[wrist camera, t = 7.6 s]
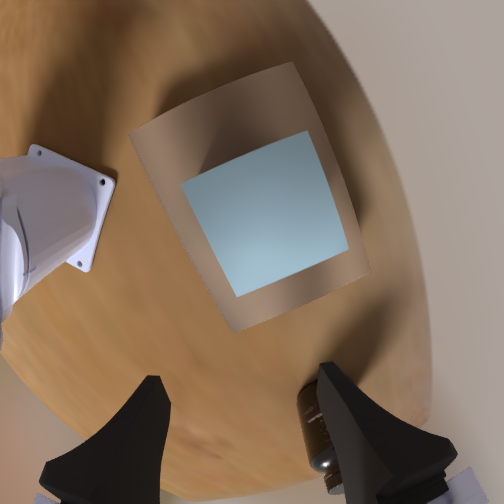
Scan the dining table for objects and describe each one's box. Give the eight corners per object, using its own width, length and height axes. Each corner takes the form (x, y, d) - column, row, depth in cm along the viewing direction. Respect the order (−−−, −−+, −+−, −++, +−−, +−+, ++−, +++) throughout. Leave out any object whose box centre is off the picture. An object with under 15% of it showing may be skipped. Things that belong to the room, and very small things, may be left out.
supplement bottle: (310, 371, 25) (344, 474, 13) (364, 374, 26) (408, 460, 14) (285, 411, 27) (304, 503, 15) (336, 413, 28) (365, 492, 16)
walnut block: (232, 303, 21) (233, 333, 18) (148, 138, 17) (127, 134, 13) (348, 252, 21) (371, 272, 17) (280, 79, 16) (292, 61, 12)
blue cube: (235, 255, 16) (237, 297, 11) (197, 175, 14) (180, 184, 9) (315, 221, 15) (349, 249, 11) (283, 138, 14) (307, 130, 9)
